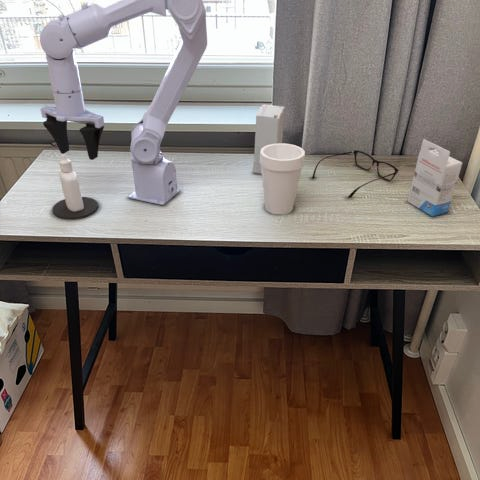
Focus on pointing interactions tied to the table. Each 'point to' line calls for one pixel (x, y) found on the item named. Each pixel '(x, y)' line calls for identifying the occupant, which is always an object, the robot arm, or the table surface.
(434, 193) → the ink box
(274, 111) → the cosmetic box
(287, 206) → the foam cup
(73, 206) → the eye dropper bottle
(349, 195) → the eyeglasses
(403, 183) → the table surface
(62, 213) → the coaster
